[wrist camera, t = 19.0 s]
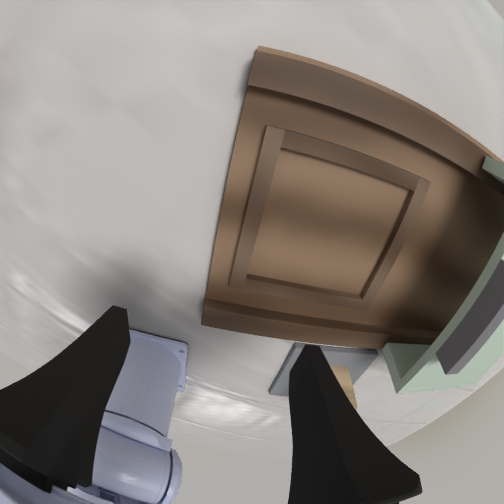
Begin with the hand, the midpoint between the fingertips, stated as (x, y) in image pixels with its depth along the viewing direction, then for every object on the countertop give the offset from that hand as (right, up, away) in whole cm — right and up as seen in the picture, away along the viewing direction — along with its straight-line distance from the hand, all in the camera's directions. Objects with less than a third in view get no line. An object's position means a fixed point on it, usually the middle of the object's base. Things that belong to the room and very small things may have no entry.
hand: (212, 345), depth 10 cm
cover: (+21, +1, +7) cm, 22 cm away
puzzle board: (+14, +4, +8) cm, 17 cm away
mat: (+9, -9, +16) cm, 21 cm away
